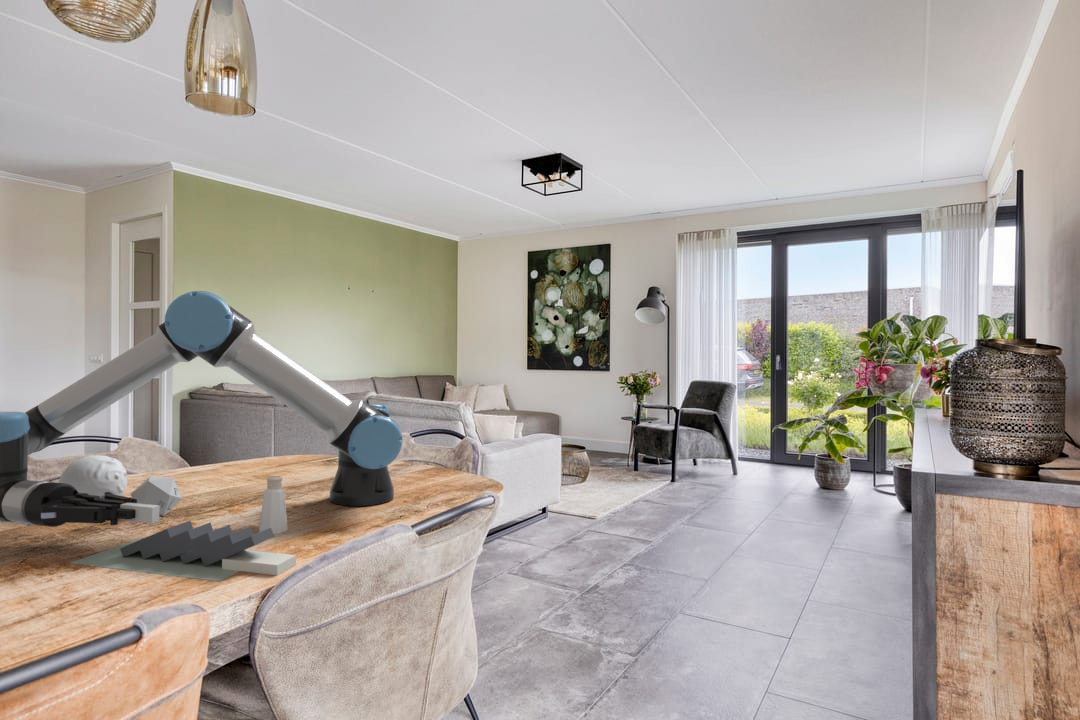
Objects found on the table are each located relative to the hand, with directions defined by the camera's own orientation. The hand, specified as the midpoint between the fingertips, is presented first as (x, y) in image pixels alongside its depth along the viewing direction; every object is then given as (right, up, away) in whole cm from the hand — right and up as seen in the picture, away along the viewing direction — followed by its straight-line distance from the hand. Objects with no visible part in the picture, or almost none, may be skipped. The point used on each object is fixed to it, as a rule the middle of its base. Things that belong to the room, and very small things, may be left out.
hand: (155, 514), depth 103 cm
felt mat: (+4, -8, -1) cm, 9 cm away
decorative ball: (-31, -7, +28) cm, 43 cm away
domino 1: (-4, -6, +1) cm, 7 cm away
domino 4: (+7, -6, -2) cm, 10 cm away
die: (-17, -7, +27) cm, 33 cm away
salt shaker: (+13, -8, +16) cm, 22 cm away
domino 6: (+15, -7, -3) cm, 16 cm away
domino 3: (+3, -6, -1) cm, 7 cm away
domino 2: (0, -6, 0) cm, 6 cm away
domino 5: (+11, -6, -2) cm, 13 cm away
